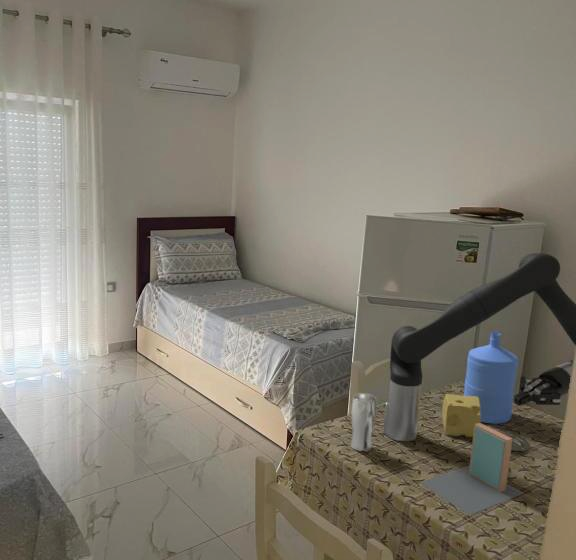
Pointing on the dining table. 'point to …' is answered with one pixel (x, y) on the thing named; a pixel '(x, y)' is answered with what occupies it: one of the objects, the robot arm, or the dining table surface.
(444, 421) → the cheese
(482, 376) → the water jug
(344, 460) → the dining table surface
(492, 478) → the tile
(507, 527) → the dining table surface
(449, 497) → the mat
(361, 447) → the beer glass
